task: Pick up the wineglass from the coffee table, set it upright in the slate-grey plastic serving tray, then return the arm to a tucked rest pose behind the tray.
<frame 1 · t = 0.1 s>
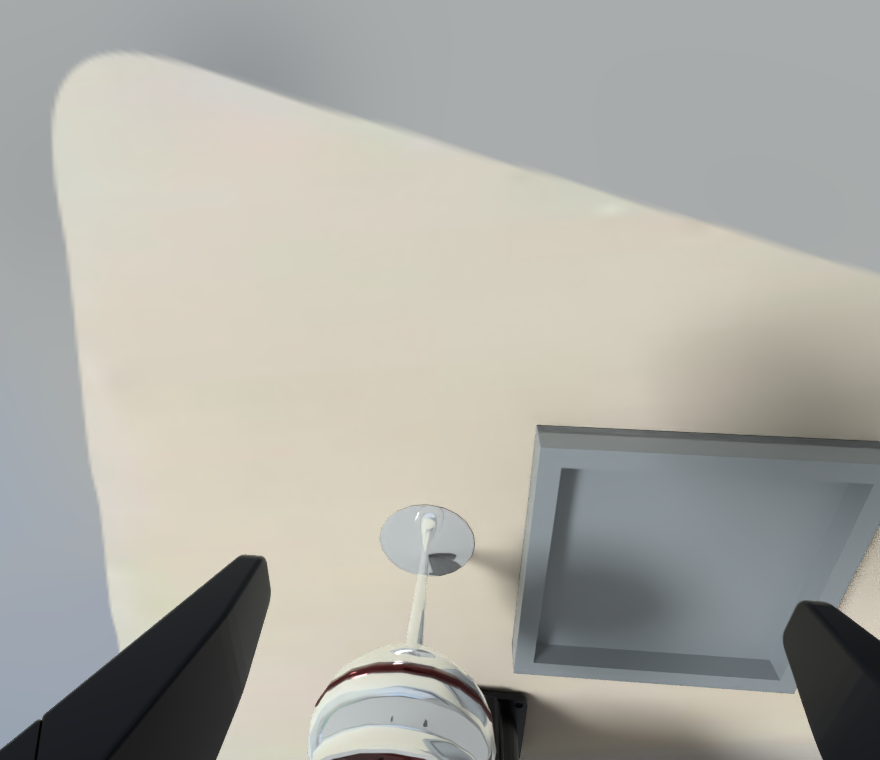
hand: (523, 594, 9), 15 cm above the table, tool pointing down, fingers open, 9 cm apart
wineglass: (427, 539, 28), on the table
serving tray: (670, 557, 28), on the table
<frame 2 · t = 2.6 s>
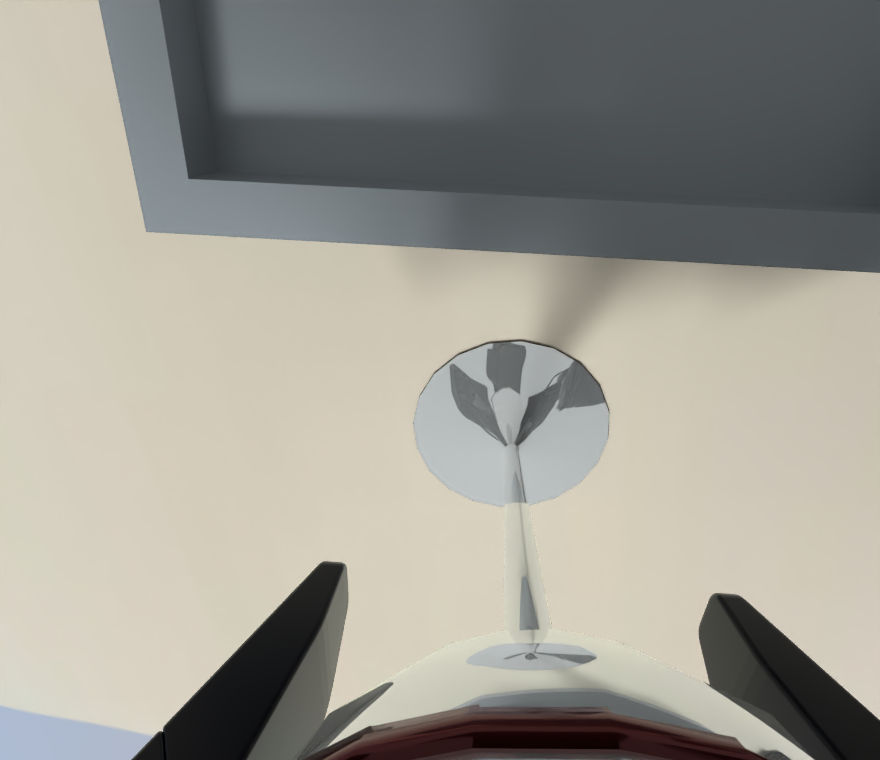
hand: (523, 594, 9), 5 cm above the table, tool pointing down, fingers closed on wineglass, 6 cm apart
wineglass: (509, 426, 14), on the table, touching gripper
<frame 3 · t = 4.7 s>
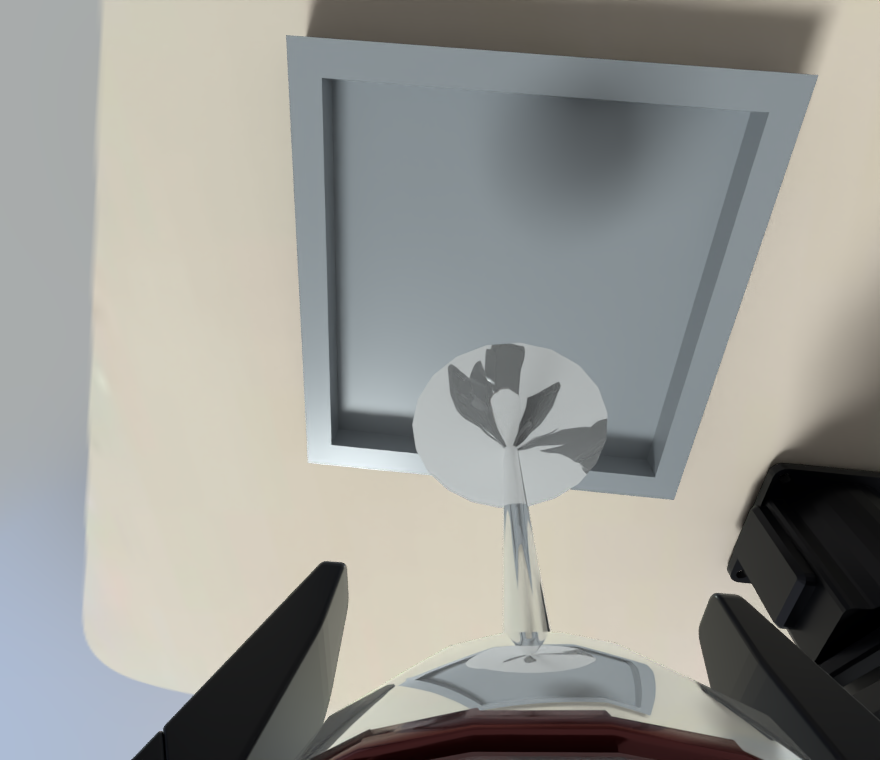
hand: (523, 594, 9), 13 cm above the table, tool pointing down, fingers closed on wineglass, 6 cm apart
wineglass: (508, 427, 14), point 8 cm above the table, touching gripper
serving tray: (510, 291, 20), on the table
when the fingers open (7 cm above the table, at t = 6.8 s): wineglass stays where it is, resting on serving tray.
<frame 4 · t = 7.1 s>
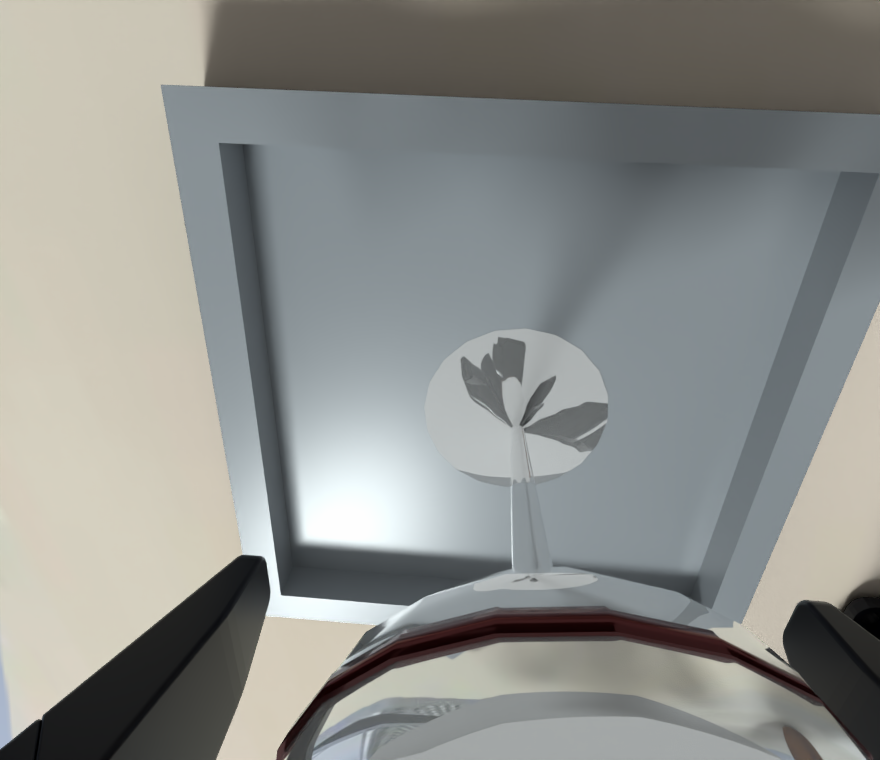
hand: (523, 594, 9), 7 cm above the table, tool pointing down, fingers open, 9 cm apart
wineglass: (514, 410, 15), resting on serving tray
serving tray: (505, 400, 15), on the table
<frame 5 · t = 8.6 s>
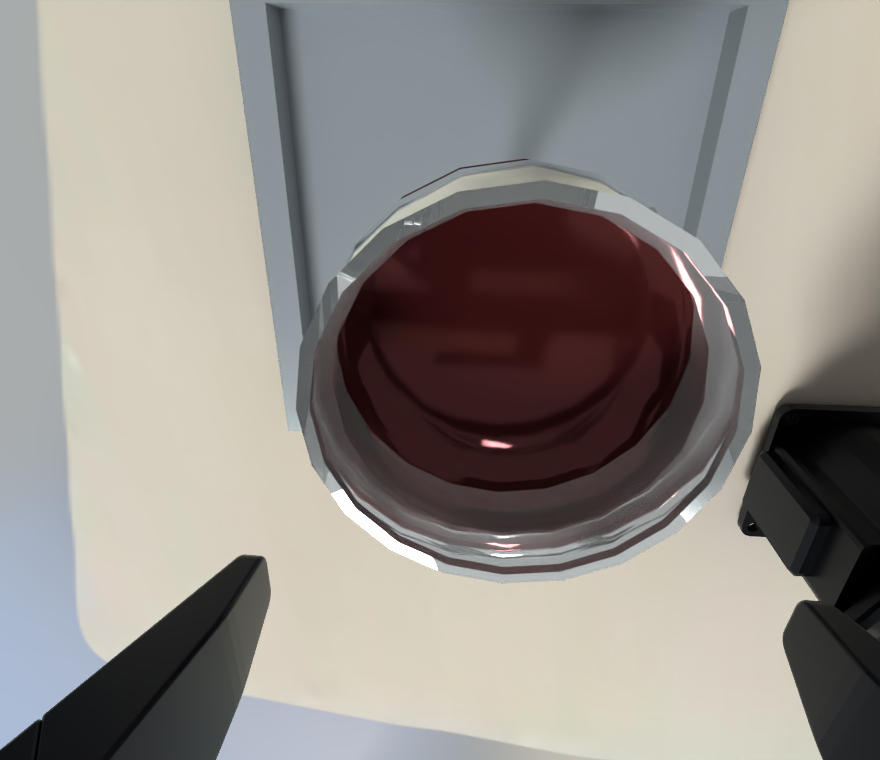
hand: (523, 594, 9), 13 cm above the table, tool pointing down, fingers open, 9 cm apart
wineglass: (494, 238, 19), resting on serving tray
serving tray: (487, 233, 19), on the table
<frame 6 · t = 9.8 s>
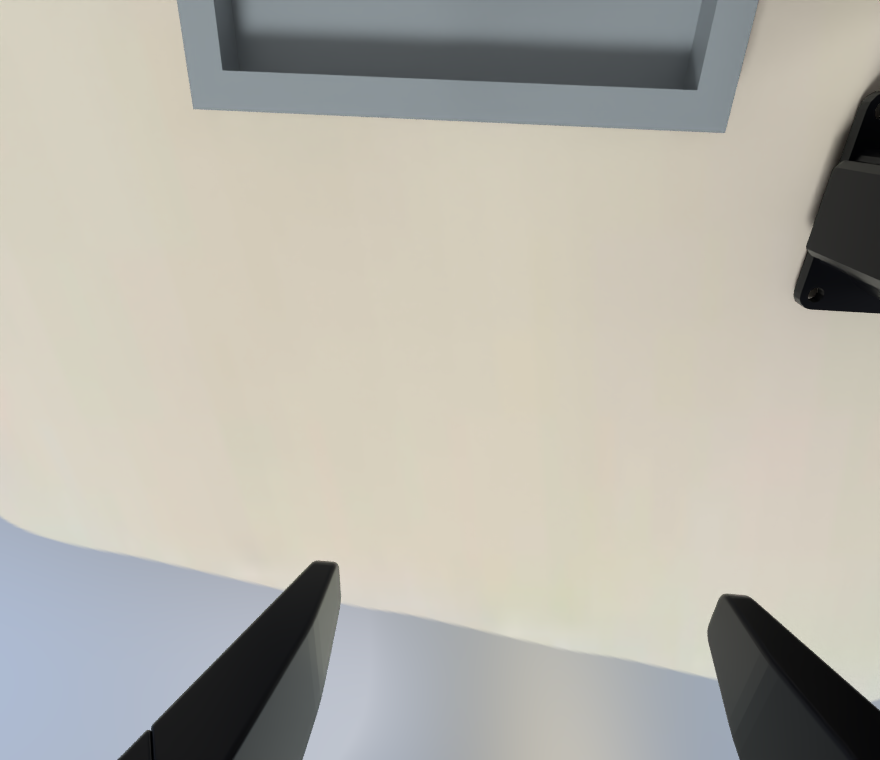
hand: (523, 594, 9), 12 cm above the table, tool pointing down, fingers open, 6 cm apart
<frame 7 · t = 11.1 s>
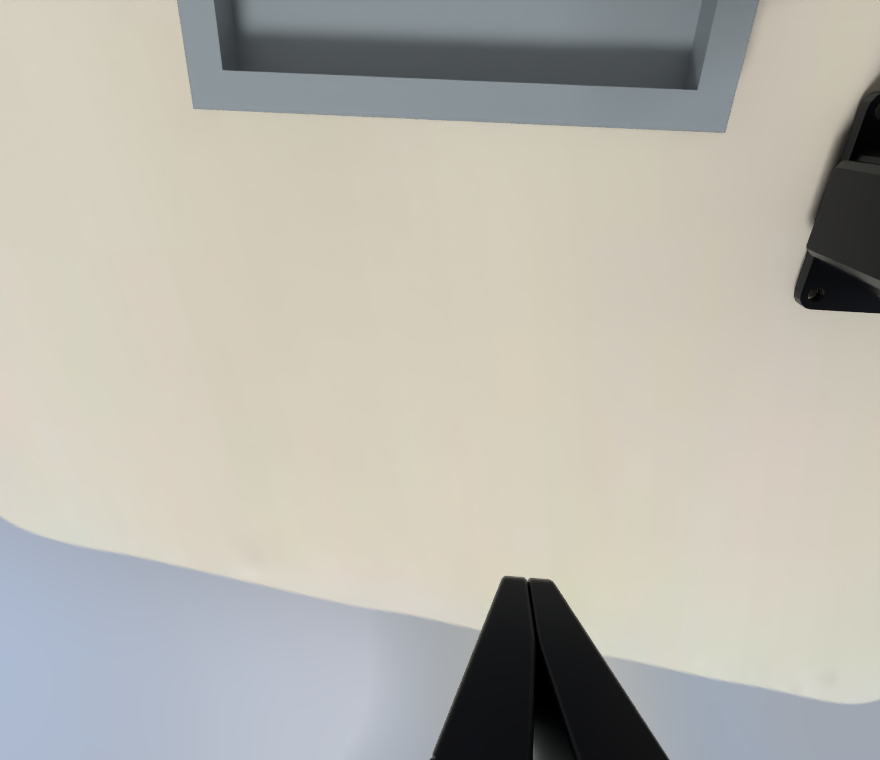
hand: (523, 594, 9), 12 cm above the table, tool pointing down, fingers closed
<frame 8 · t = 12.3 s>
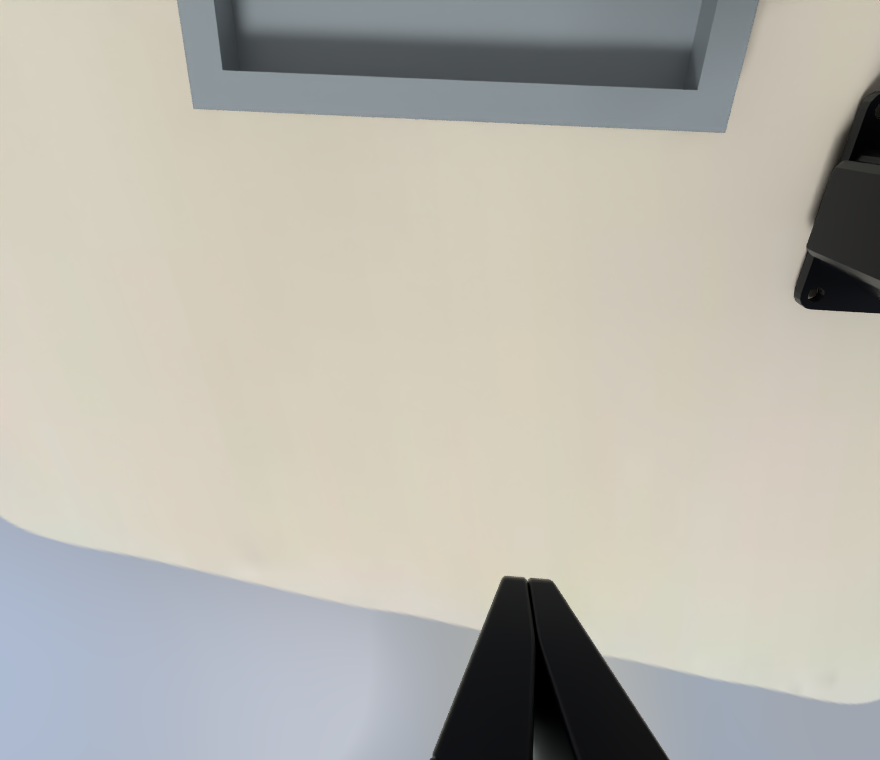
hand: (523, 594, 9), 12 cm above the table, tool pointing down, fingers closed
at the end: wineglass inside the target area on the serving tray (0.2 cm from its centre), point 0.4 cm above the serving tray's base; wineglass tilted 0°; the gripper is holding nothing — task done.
